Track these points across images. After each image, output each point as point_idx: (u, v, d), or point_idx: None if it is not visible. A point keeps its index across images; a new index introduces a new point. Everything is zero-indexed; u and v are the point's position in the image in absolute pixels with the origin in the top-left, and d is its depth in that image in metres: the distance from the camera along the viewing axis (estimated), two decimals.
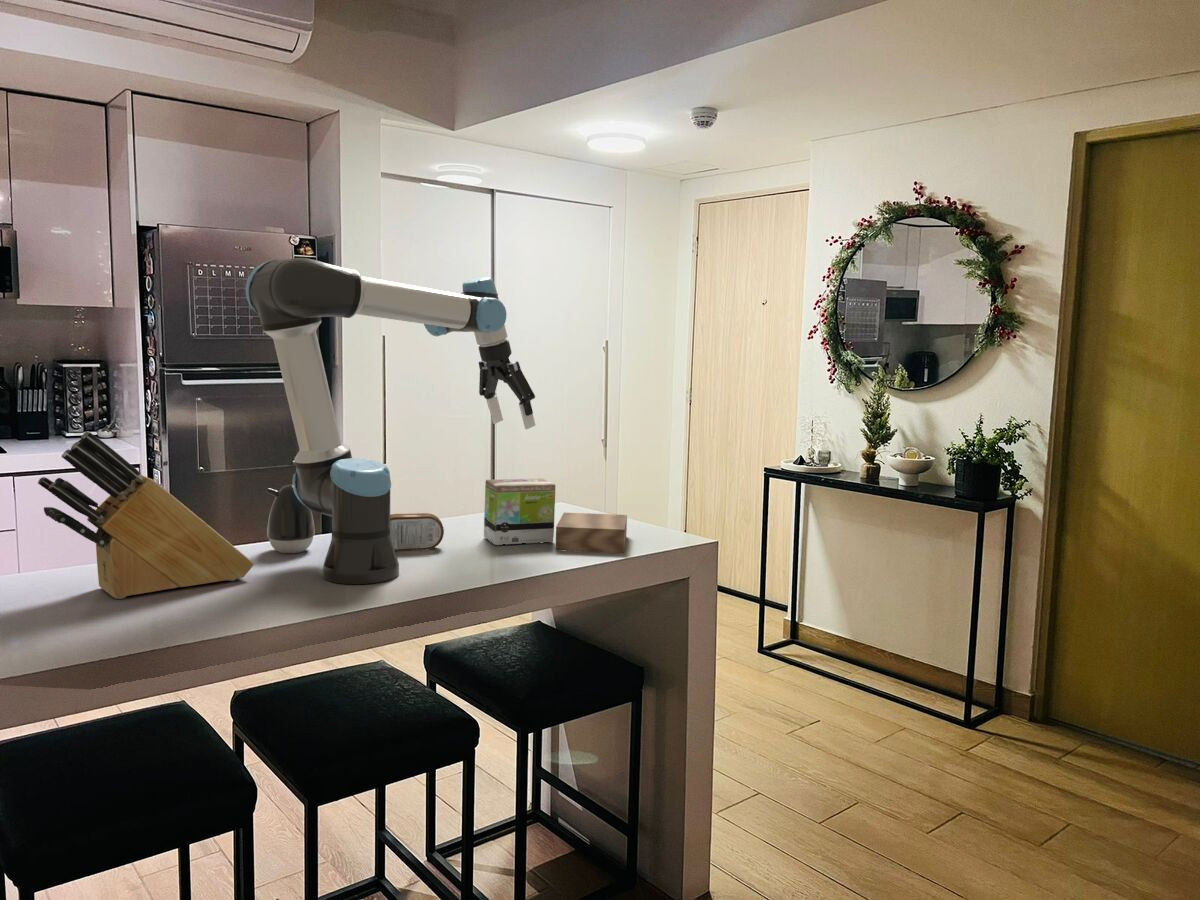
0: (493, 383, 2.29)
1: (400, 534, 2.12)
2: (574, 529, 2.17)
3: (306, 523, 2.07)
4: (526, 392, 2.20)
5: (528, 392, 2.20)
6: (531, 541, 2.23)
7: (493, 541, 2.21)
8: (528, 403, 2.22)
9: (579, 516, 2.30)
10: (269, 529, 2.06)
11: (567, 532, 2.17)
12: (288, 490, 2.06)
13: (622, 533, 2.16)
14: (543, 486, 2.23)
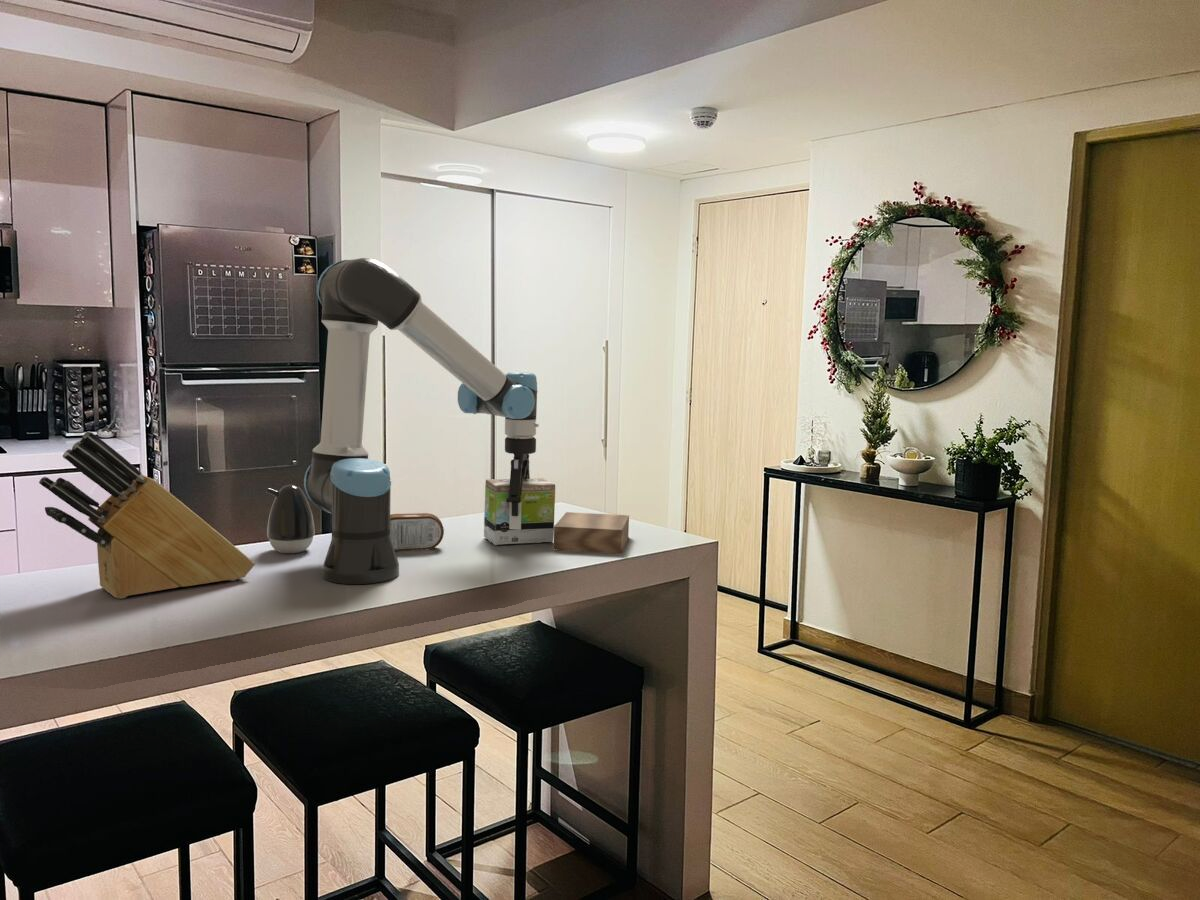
0: None
1: (400, 534, 2.12)
2: (571, 528, 2.17)
3: (306, 523, 2.07)
4: (512, 492, 2.16)
5: (514, 493, 2.16)
6: (531, 541, 2.23)
7: (493, 541, 2.21)
8: (514, 504, 2.18)
9: (580, 516, 2.30)
10: (269, 529, 2.06)
11: (565, 531, 2.17)
12: (288, 490, 2.06)
13: (620, 533, 2.16)
14: (543, 486, 2.22)
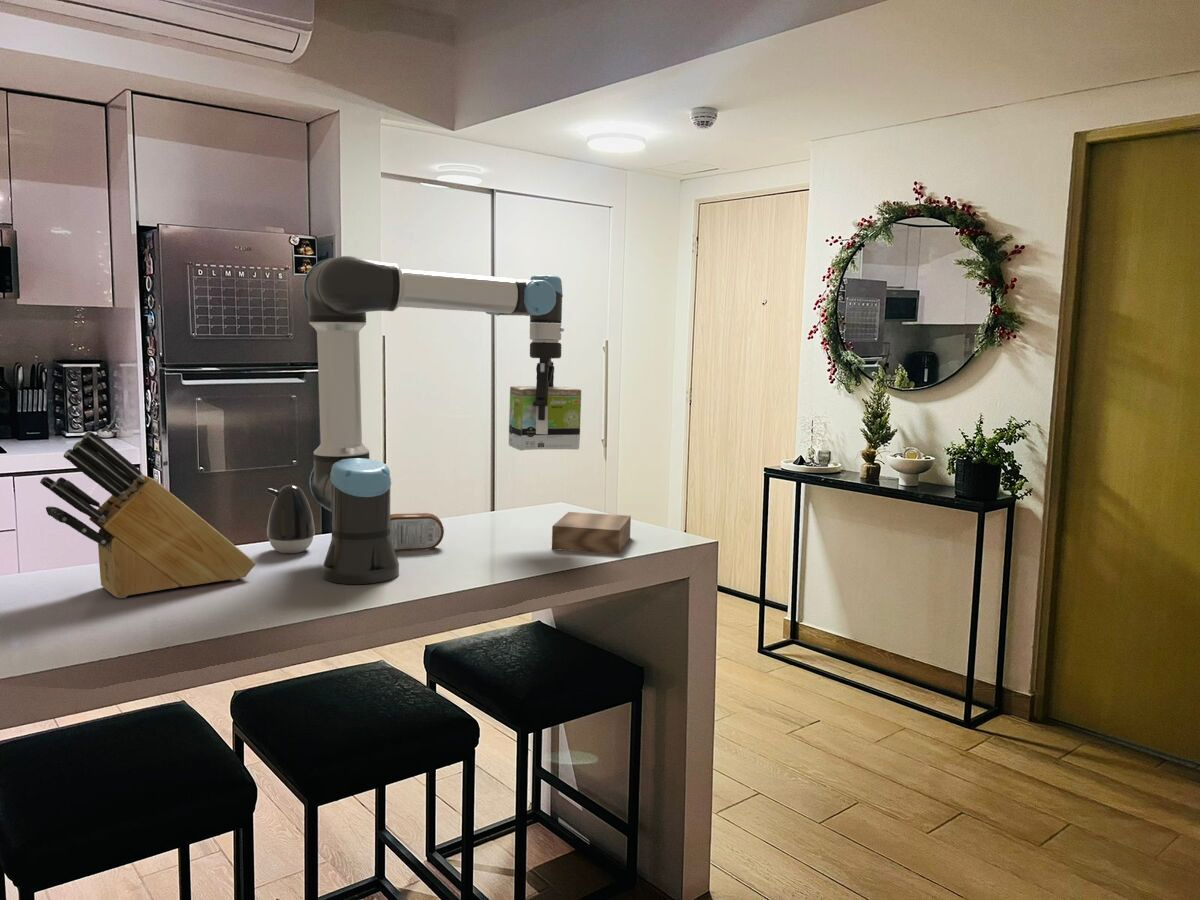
0: None
1: (400, 534, 2.12)
2: (570, 528, 2.17)
3: (306, 523, 2.07)
4: (539, 395, 2.13)
5: (541, 395, 2.13)
6: (557, 447, 2.20)
7: (519, 446, 2.18)
8: (541, 407, 2.15)
9: (581, 516, 2.31)
10: (269, 529, 2.06)
11: (563, 531, 2.18)
12: (288, 490, 2.06)
13: (617, 534, 2.15)
14: (569, 391, 2.20)
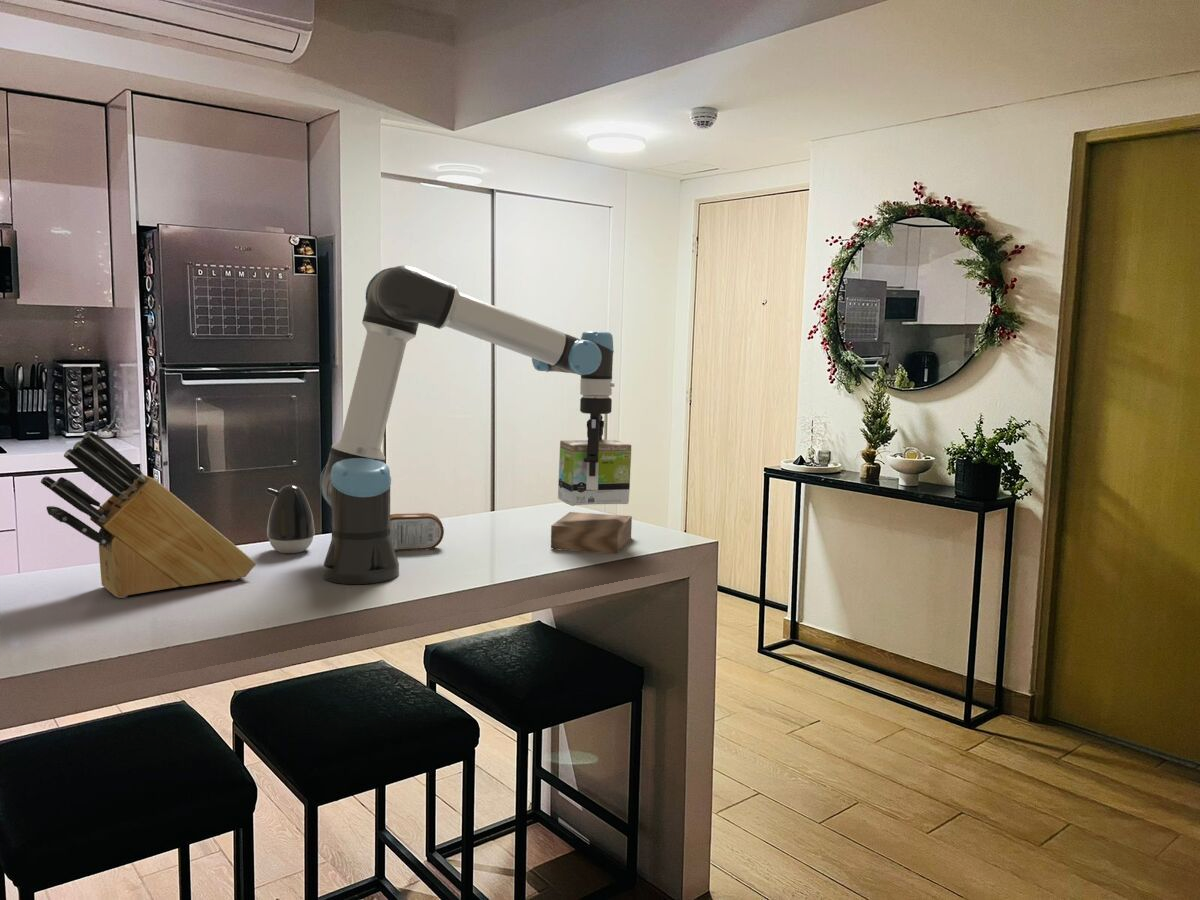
0: None
1: (400, 534, 2.12)
2: (568, 528, 2.17)
3: (306, 523, 2.07)
4: (590, 452, 2.14)
5: (592, 452, 2.14)
6: (607, 502, 2.21)
7: (569, 501, 2.19)
8: (592, 464, 2.15)
9: (582, 516, 2.31)
10: (269, 529, 2.06)
11: (562, 531, 2.18)
12: (287, 490, 2.06)
13: (616, 534, 2.15)
14: (619, 446, 2.20)
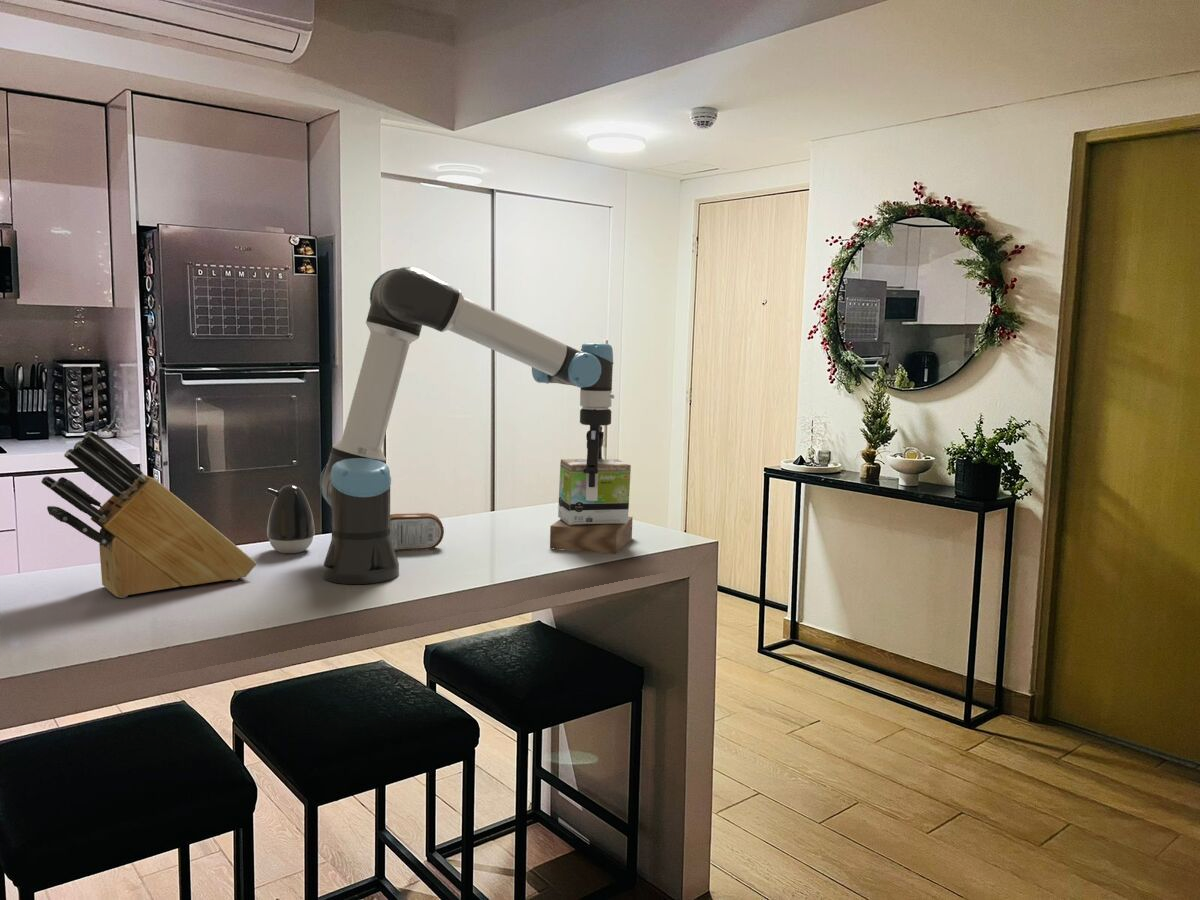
0: None
1: (400, 534, 2.12)
2: (567, 528, 2.18)
3: (306, 523, 2.07)
4: (590, 463, 2.14)
5: (591, 463, 2.14)
6: (605, 522, 2.21)
7: (567, 521, 2.20)
8: (592, 475, 2.16)
9: None
10: (269, 529, 2.06)
11: (561, 531, 2.18)
12: (288, 490, 2.06)
13: (614, 534, 2.15)
14: (618, 466, 2.20)
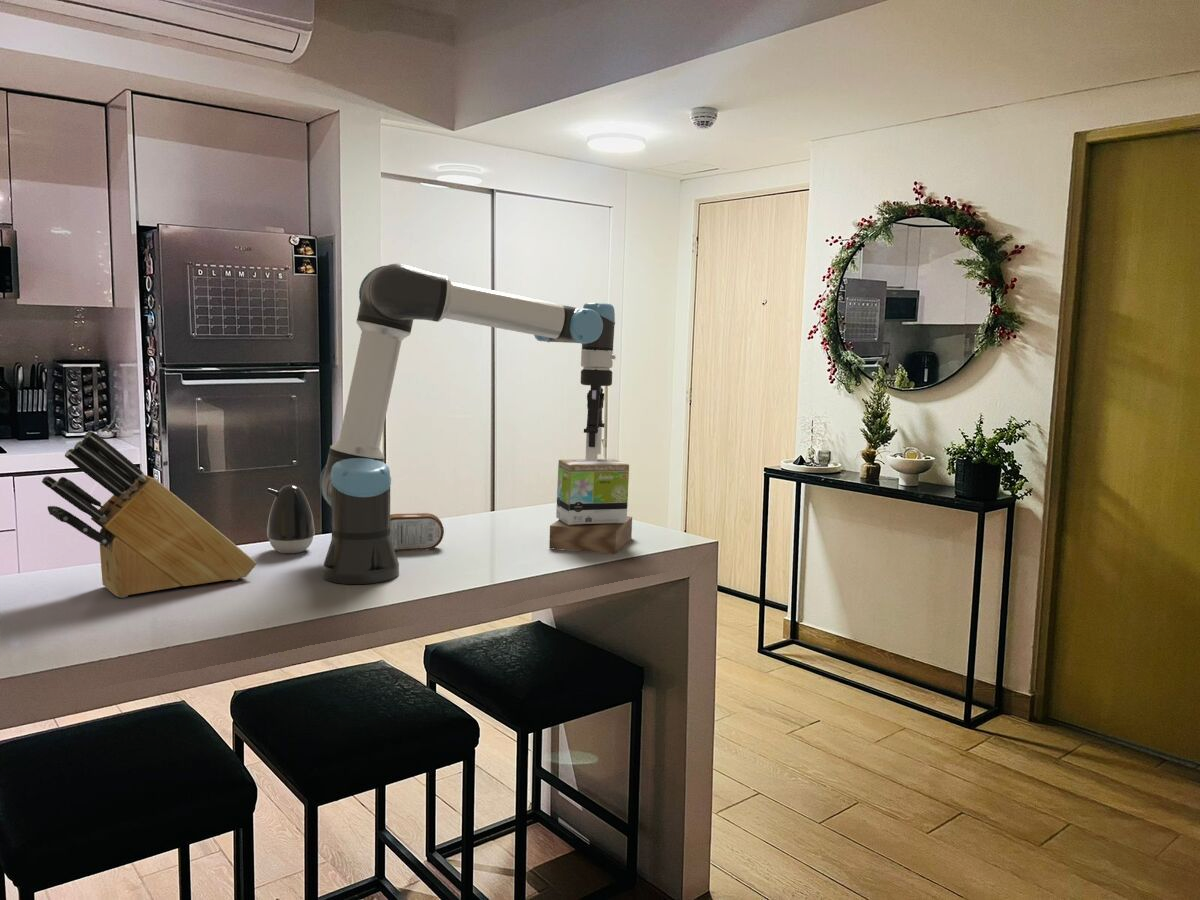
0: None
1: (400, 534, 2.12)
2: (567, 528, 2.18)
3: (306, 523, 2.07)
4: (590, 422, 2.13)
5: (592, 422, 2.13)
6: (604, 521, 2.21)
7: (566, 521, 2.20)
8: (592, 434, 2.14)
9: None
10: (269, 529, 2.06)
11: (560, 531, 2.18)
12: (288, 490, 2.06)
13: (614, 534, 2.15)
14: (617, 466, 2.20)
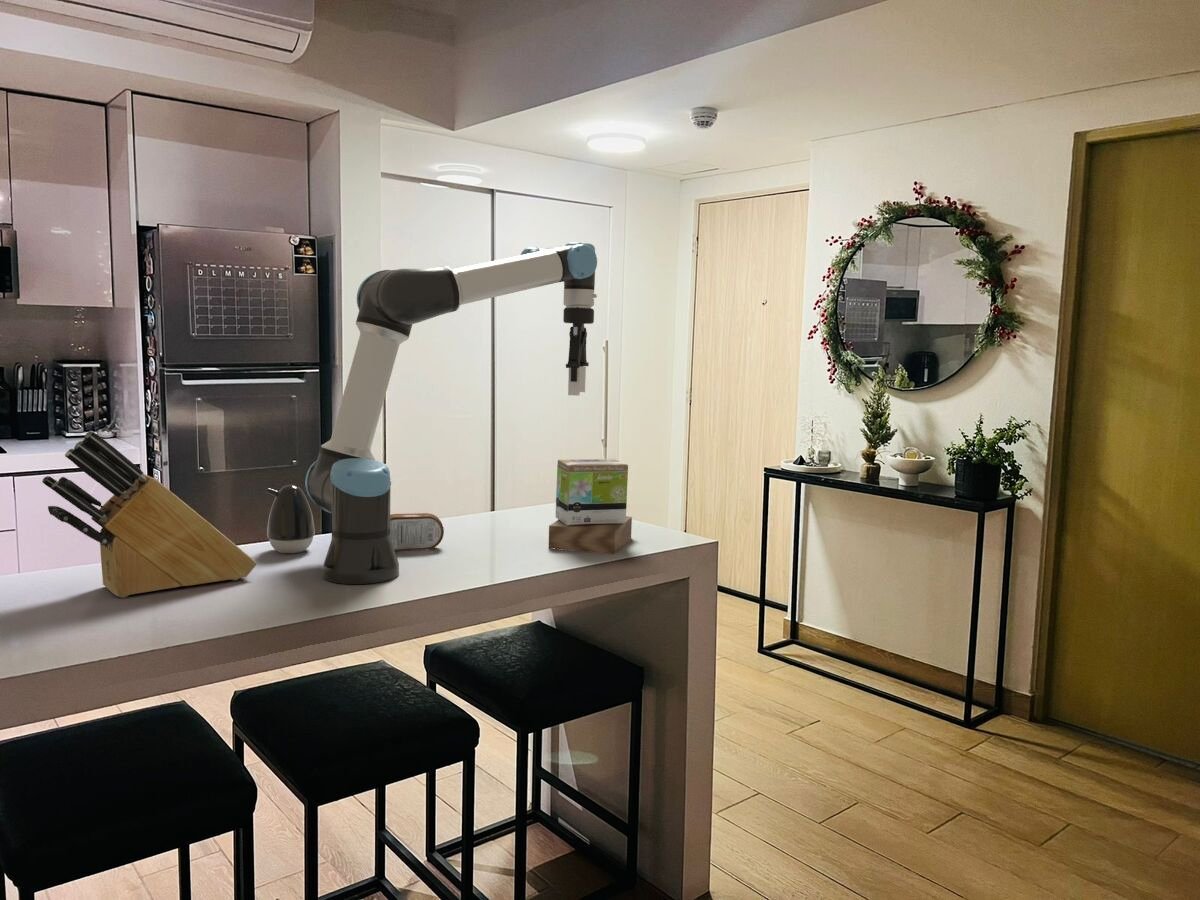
0: None
1: (400, 534, 2.12)
2: (566, 528, 2.18)
3: (306, 523, 2.07)
4: (571, 357, 2.20)
5: (573, 357, 2.20)
6: (603, 522, 2.21)
7: (565, 521, 2.20)
8: (574, 369, 2.22)
9: None
10: (269, 529, 2.06)
11: (559, 531, 2.18)
12: (288, 490, 2.06)
13: (613, 534, 2.15)
14: (616, 466, 2.20)
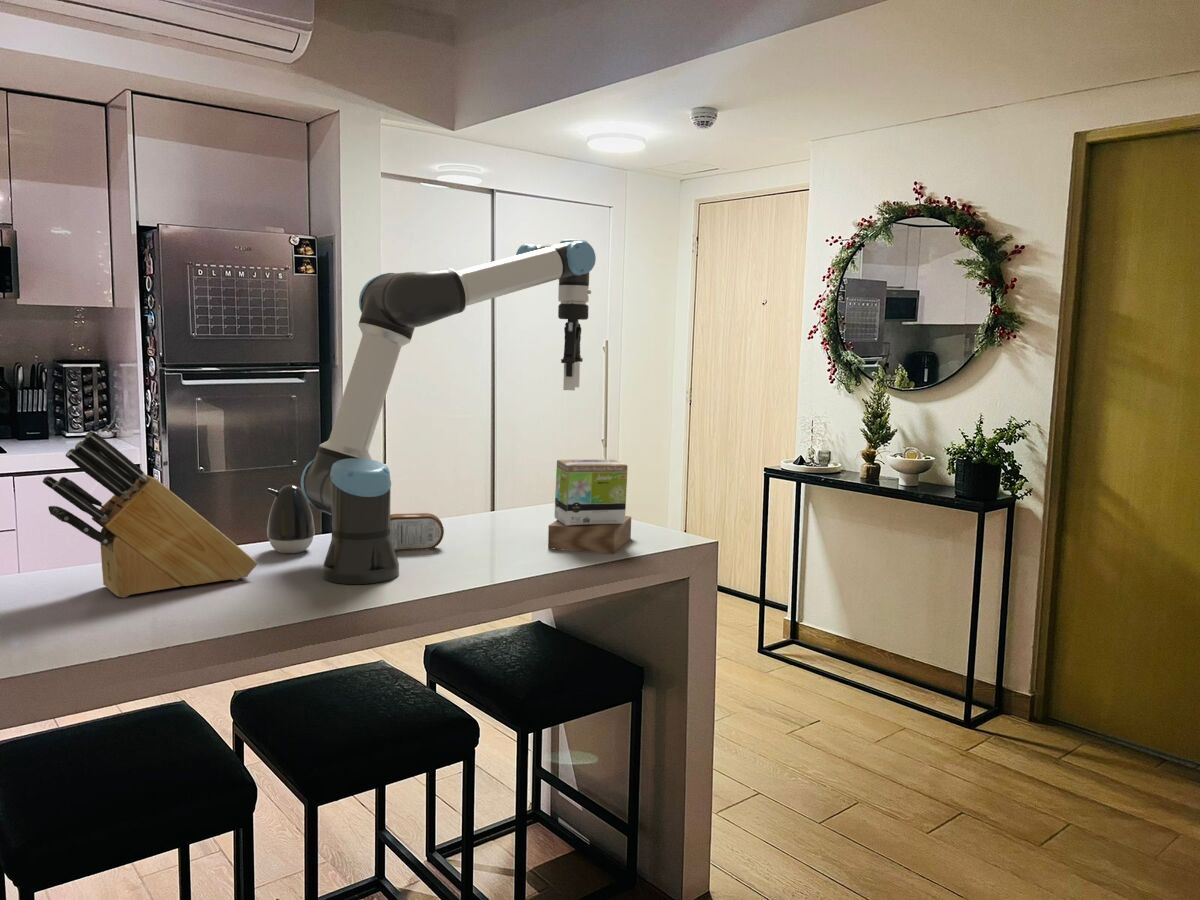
0: None
1: (400, 534, 2.12)
2: (565, 528, 2.18)
3: (306, 523, 2.07)
4: (567, 352, 2.23)
5: (568, 352, 2.23)
6: (602, 522, 2.21)
7: (564, 521, 2.19)
8: (569, 364, 2.25)
9: None
10: (269, 529, 2.06)
11: (559, 531, 2.18)
12: (288, 490, 2.06)
13: (612, 534, 2.15)
14: (615, 466, 2.20)
